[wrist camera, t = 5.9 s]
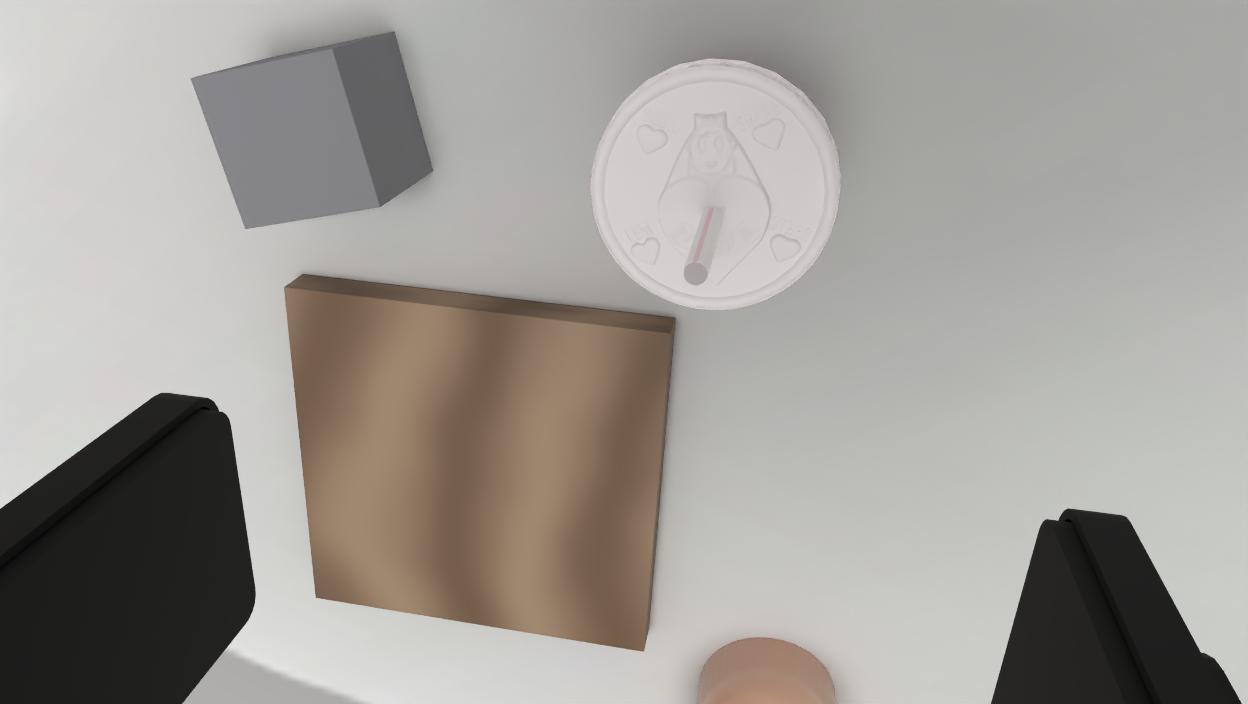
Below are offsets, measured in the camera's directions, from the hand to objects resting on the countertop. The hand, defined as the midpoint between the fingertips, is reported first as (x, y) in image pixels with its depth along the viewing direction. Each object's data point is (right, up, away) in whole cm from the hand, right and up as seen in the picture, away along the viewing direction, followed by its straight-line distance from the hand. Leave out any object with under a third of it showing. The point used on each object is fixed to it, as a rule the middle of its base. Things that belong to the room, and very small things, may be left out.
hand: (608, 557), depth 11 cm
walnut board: (-6, -2, +29) cm, 30 cm away
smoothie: (+4, +10, +22) cm, 24 cm away
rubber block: (-10, +11, +24) cm, 28 cm away
